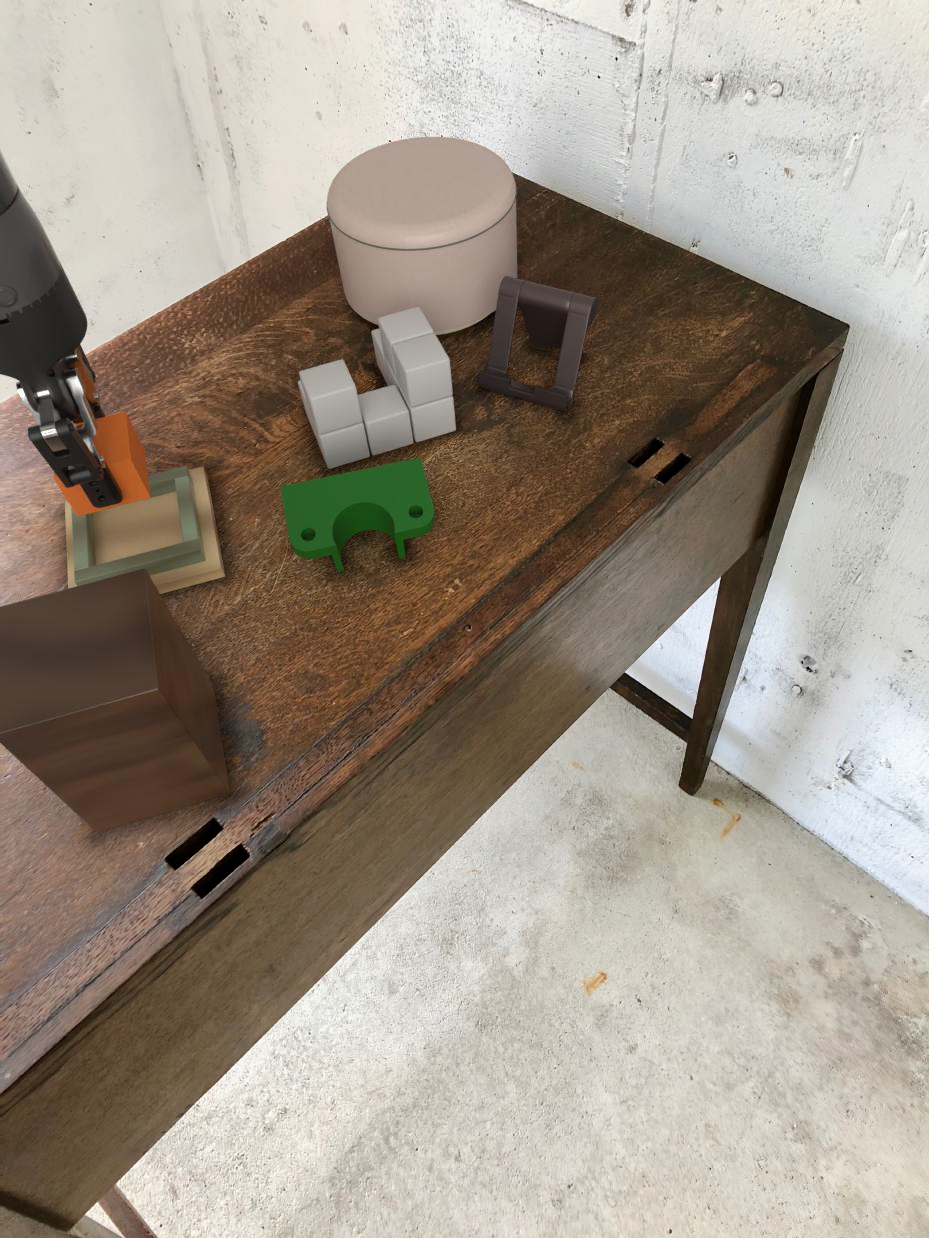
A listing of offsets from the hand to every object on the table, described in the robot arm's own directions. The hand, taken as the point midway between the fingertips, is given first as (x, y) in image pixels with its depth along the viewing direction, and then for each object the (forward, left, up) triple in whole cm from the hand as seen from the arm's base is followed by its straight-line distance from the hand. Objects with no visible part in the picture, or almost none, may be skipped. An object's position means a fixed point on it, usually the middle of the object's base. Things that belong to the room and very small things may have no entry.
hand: (106, 473), depth 66 cm
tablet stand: (+32, -21, -8) cm, 39 cm away
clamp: (+8, -17, -8) cm, 21 cm away
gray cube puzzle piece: (+22, -9, -8) cm, 25 cm away
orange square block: (0, 0, -1) cm, 1 cm away
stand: (-15, -14, -8) cm, 22 cm away
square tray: (0, 0, -8) cm, 8 cm away
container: (+40, -5, -8) cm, 41 cm away
